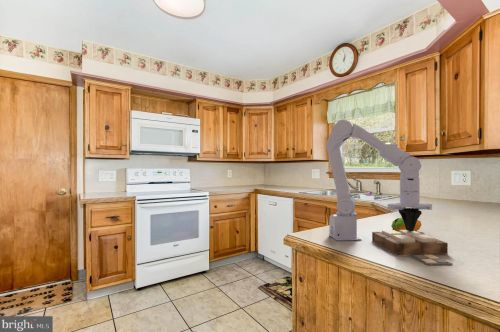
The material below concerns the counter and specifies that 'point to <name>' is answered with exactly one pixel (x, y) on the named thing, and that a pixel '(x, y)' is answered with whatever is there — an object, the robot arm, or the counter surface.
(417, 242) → the button board
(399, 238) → the button
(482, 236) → the counter surface
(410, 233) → the button
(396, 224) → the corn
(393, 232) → the button
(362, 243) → the counter surface
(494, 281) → the counter surface
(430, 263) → the card
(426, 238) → the button
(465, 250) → the counter surface
